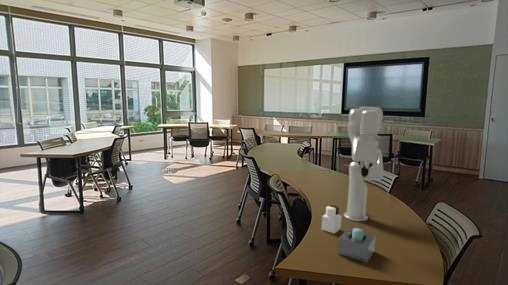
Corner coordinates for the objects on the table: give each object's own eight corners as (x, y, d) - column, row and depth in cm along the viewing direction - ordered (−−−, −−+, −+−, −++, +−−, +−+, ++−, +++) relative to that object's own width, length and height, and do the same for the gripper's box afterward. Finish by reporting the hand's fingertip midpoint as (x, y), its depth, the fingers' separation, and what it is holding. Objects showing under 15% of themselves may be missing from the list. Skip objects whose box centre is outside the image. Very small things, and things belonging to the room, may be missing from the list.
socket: (346, 243, 139) (347, 228, 138) (374, 251, 132) (375, 236, 131) (337, 253, 129) (338, 237, 128) (367, 263, 123) (368, 246, 122)
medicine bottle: (327, 225, 158) (329, 203, 157) (340, 229, 154) (342, 206, 152) (320, 229, 153) (322, 206, 151) (334, 234, 148) (336, 210, 147)
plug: (352, 249, 134) (354, 227, 132) (362, 252, 131) (364, 229, 130) (349, 253, 130) (351, 230, 129) (359, 256, 128) (362, 233, 126)
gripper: (386, 138, 141) (382, 177, 144) (354, 135, 149) (350, 172, 152) (383, 139, 135) (379, 180, 137) (349, 136, 143) (346, 174, 146)
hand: (364, 176), depth 145 cm, fingers closed
